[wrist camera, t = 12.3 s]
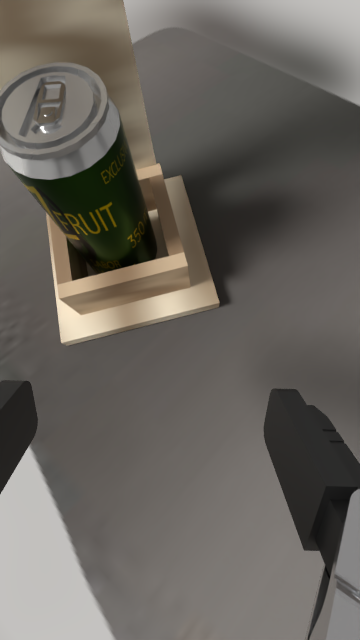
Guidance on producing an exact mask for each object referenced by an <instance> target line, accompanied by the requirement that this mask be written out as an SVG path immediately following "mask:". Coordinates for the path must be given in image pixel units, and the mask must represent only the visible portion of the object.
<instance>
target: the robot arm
mask: <svg viewBox="0 0 360 640" xmlns="http://www.w3.org/2000/svg"><path fill="white" fill-rule="evenodd" d="M37 424H38V418H37V413H36V407H35V402H34V397H33V391H32V386H31V384H30V382H29V381H10V380H4V381H1V382H0V494H1V492H2V490H3V489H4V487H5V485H6V484H7V482H8V480H9V478H10V477H11V475H12V473H13V472H14V470H15V468H16V467H17V465H18V463H19V462H20V460H21V458H22V456H23V455H24V453H25V451H26V450H27V448H28V446H29V445H30V443H31V441H32V440H33V438H34V436H35V433H36V430H37ZM264 438H265V443H266V446H267V449H268V452H269V454H270V457H271V460H272V463H273V465H274V468H275V471H276V474H277V477H278V479H279V482H280V485H281V488H282V490H283V493H284V496H285V499H286V501H287V504H288V507H289V510H290V513H291V515H292V518H293V521H294V524H295V526H296V529H297V532H298V535H299V538H300V540H301V543H302V546H303V549H304V550H309V551H320V553H321V555H322V558H323V560H324V563H325V564H324V566H323V569H322V572H321V576H320V580H319V585H318V589H317V593H316V597H315V601H314V605H313V609H312V613H311V617H310V621H309V625H308V629H307V633H306V637H305V640H360V464H359V462H358V461H357V459H356V458H355V456H354V455H353V453H352V452H351V451H350V449H349V448H348V446H347V445H346V444H344V440H343V439H342V437H341V436H340V434H339V433H338V432H336V429H335V427H334V426H333V424H332V423H331V421H330V420H329V418H328V417H327V416H326V415H325V414H323V413H322V412H321V411H320V410H318V409H317V408H316V407H315V406H314V405H306V403H305V401H304V400H303V398H302V397H301V395H300V393H299V392H298V391H297V390H296V389H272V390H271V393H270V397H269V402H268V407H267V412H266V417H265V422H264Z"/></svg>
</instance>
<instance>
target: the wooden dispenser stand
mask: <svg viewBox="0 0 360 640" xmlns="http://www.w3.org/2000/svg"><path fill="white" fill-rule="evenodd" d="M54 62H64V63H75V64H78V65H81V66H85V67H88V68H89V69H90V70H92V71H93V72H94V73H96V74H97V75H99V77H100V78H101V80H102V82H103V83H104V85H105V87H106V89H107V93H108V95H109V96H110V97H111V98H112V100H113V102H114V103H115V105H116V107H117V109H118V110H119V114H120V117H121V121H122V124H123V128H124V131H125V134H126V138H127V141H128V145H129V148H130V152H131V155H132V159H133V162H134V165H135V169H136V172H137V176H138V179H139V183H140V186H141V190H142V193H143V197H144V200H145V203H146V207H147V210H148V214H149V217H150V221H151V224H152V228H153V231H154V235H155V238H156V243H157V253H156V258H155V260H152V261H148V262H144V263H140V264H136V265H132V266H129V267H125V268H121V269H117V270H113V271H109V272H105V273H101V274H97V273H96V272H95V271H94V270H93V269H92V268H91V267H90V265H89V264H88V263H87V262H86V261H85V259H84V258H83V257H82V256H81V254H80V253H79V252H78V251H77V249H76V248H75V247H74V246H73V244H72V243H71V242H70V241H69V240H68V238H67V237H66V236H65V235H64V233H63V232H62V231H61V230H60V228H59V227H58V226H57V225H56V224H55V222H54V221H53V220H52V219H51V217H50V216H49V215H48V214H47V212H46V216H47V225H48V234H49V242H50V251H51V259H52V268H53V276H54V285H55V293H56V302H57V310H58V319H59V327H60V336H61V343H62V344H65V345H67V346H68V345H72V344H76V343H80V342H84V341H88V340H92V339H96V338H100V337H104V336H108V335H112V334H116V333H120V332H123V331H127V330H131V329H135V328H139V327H143V326H147V325H151V324H155V323H159V322H163V321H167V320H171V319H175V318H178V317H182V316H186V315H190V314H194V313H198V312H202V311H206V310H210V309H214V308H218V307H219V299H218V296H217V293H216V289H215V286H214V283H213V279H212V276H211V273H210V269H209V266H208V263H207V259H206V256H205V253H204V249H203V246H202V243H201V239H200V236H199V233H198V229H197V226H196V223H195V219H194V216H193V213H192V209H191V206H190V203H189V199H188V196H187V193H186V189H185V186H184V183H183V179H182V176H181V175H180V176H176V177H172V178H168V179H164V178H163V174H162V170H161V167H160V163H158V164H156V160H155V155H154V151H153V146H152V141H151V136H150V131H149V126H148V121H147V116H146V111H145V106H144V101H143V96H142V91H141V86H140V81H139V76H138V71H137V67H136V62H135V57H134V52H133V47H132V42H131V37H130V33H129V27H128V22H127V17H126V12H125V7H124V2H123V0H0V90H1V89H2V88H3V87H4V85H5V84H6V83H7V82H9V81H10V80H12V79H13V78H14V77H16V76H17V75H19V74H20V73H22V72H24V71H27V70H29V69H31V68H34V67H36V66H39V65H44V64H49V63H54Z"/></svg>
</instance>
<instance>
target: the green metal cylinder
mask: <svg viewBox="0 0 360 640" xmlns="http://www.w3.org/2000/svg"><path fill="white" fill-rule="evenodd" d="M0 150H1V153H2V155H3V158H4V161H5V162H6V163H7V164H8V166H9V167H10V168H11V169H12V171H13V172H14V173H15V174H16V175H17V177H18V178H19V179H20V180H21V182H22V183H23V184H24V185H25V187H26V188H27V189H28V190H29V191H30V193H31V194H32V195H33V196H34V198H35V199H36V200H37V201H38V203H39V204H40V205H41V206H42V208H43V209H44V210H45V211H46V212H47V214H48V215H49V216H50V217H51V219H52V220H53V221H54V222H55V224H56V225H57V226H58V227H59V228H60V230H61V231H62V232H63V233H64V235H65V236H66V237H67V238H68V240H69V241H70V242H71V243H72V244H73V246H74V247H75V248H76V249H77V251H78V252H79V253H80V254H81V256H82V257H83V258H84V259H85V261H86V262H87V263H88V264H89V265H90V267H91V268H92V269H93V270H94V271H95V272H96V273H97V274H101V273H105V272H109V271H113V270H117V269H121V268H125V267H129V266H132V265H136V264H140V263H144V262H148V261H152V260H155V258H156V253H157V243H156V238H155V235H154V231H153V228H152V224H151V221H150V217H149V214H148V210H147V207H146V203H145V200H144V197H143V193H142V190H141V186H140V183H139V179H138V176H137V172H136V169H135V165H134V162H133V159H132V155H131V152H130V148H129V145H128V141H127V138H126V134H125V131H124V128H123V124H122V121H121V117H120V114H119V110H118V109H117V107H116V105H115V103H114V102H113V100H112V98H111V97H110V96H109V95H108V93H107V89H106V87H105V85H104V83H103V82H102V80H101V78H100V77H99V75H97V74H96V73H94V72H93V71H92V70H90V69H89V68H88V67H85V66H81V65H78V64H75V63H64V62H54V63H49V64H44V65H39V66H36V67H34V68H31V69H29V70H27V71H24V72H22V73H20V74H19V75H17V76H16V77H14V78H13V79H12V80H10V81H9V82H7V83H6V84H5V85H4V87H3V88H2V89H1V90H0Z"/></svg>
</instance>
